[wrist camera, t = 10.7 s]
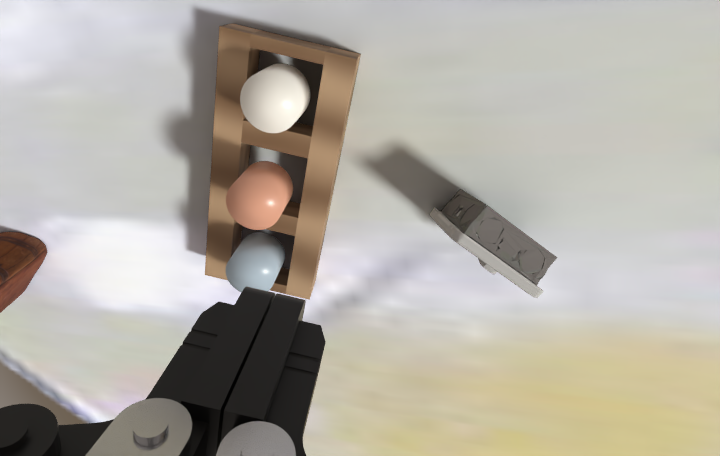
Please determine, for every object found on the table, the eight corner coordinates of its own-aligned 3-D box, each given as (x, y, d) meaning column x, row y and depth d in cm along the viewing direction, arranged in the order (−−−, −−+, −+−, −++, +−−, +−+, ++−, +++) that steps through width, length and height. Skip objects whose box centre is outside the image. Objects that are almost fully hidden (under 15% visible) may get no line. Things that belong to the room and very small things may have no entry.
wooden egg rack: (232, 23, 39) (219, 26, 36) (360, 53, 39) (356, 59, 36) (216, 259, 50) (204, 274, 47) (314, 282, 50) (309, 299, 48)
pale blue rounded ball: (245, 222, 46) (227, 248, 41) (290, 233, 46) (277, 259, 41) (241, 260, 48) (223, 288, 44) (284, 271, 48) (271, 300, 44)
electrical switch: (426, 211, 45) (437, 254, 36) (462, 170, 43) (481, 205, 35) (499, 263, 47) (525, 315, 38) (535, 225, 45) (571, 271, 37)
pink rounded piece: (248, 151, 41) (227, 172, 36) (299, 164, 41) (285, 185, 36) (243, 198, 43) (223, 222, 38) (291, 209, 43) (277, 235, 38)
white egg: (262, 55, 38) (242, 65, 34) (316, 68, 38) (304, 79, 34) (256, 110, 40) (237, 125, 36) (308, 122, 40) (295, 139, 36)
